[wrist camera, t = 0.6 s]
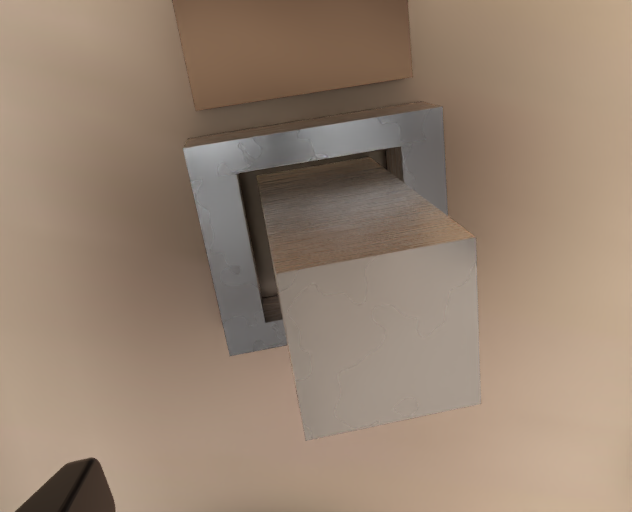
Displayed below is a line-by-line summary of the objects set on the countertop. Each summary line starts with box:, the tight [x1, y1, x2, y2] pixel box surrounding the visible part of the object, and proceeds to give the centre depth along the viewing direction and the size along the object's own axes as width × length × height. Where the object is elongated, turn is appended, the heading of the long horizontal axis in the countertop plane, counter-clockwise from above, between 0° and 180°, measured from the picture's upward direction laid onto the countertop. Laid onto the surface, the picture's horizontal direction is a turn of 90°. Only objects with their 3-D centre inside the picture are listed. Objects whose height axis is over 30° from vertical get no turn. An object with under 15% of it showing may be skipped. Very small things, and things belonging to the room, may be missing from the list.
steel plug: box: [257, 157, 481, 441], centre depth 15 cm, size 4×4×9 cm
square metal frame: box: [183, 101, 448, 356], centre depth 19 cm, size 7×8×2 cm
